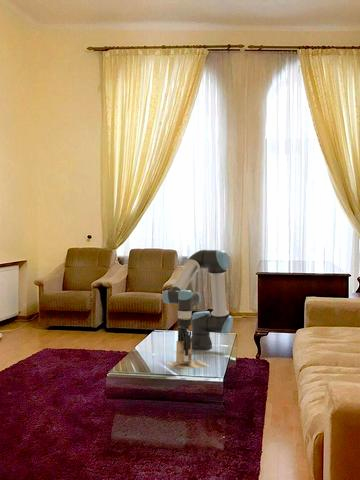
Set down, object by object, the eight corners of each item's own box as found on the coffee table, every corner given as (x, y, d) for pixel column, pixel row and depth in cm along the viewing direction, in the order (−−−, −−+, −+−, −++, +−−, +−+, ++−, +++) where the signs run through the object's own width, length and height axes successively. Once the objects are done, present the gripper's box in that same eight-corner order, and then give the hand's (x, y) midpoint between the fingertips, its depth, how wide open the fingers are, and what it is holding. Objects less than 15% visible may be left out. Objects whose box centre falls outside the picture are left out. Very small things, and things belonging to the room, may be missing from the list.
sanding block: (187, 361, 306) (188, 340, 306) (191, 363, 301) (191, 342, 301) (176, 362, 303) (176, 341, 303) (179, 364, 299) (180, 342, 298)
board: (198, 361, 315) (198, 359, 315) (210, 368, 300) (210, 366, 300) (165, 364, 307) (166, 362, 307) (176, 371, 292) (176, 369, 292)
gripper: (172, 316, 309) (171, 357, 309) (184, 321, 292) (184, 364, 293) (184, 315, 312) (183, 356, 312) (197, 320, 295) (196, 363, 295)
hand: (183, 360), depth 302 cm, fingers closed on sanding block, 5 cm apart
